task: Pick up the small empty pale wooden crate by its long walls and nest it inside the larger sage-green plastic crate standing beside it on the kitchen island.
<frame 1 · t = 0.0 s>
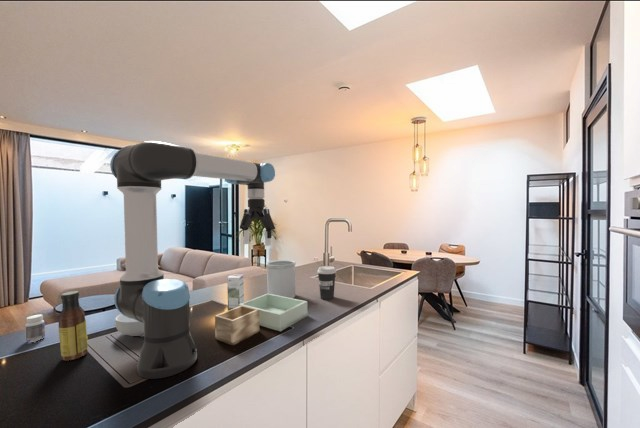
hand: (257, 244, 129), 28 cm above the counter, tool pointing down, fingers open, 13 cm apart
syrup box: (236, 307, 127), on the counter
coffee cup: (327, 298, 138), on the counter
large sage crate: (273, 317, 114), on the counter
pill bottle: (35, 340, 97), on the counter
cereal bowl: (144, 332, 102), on the counter
sauce bottle: (74, 357, 85), on the counter
small wooden crate: (238, 335, 99), on the counter
utensil holder: (281, 297, 141), on the counter
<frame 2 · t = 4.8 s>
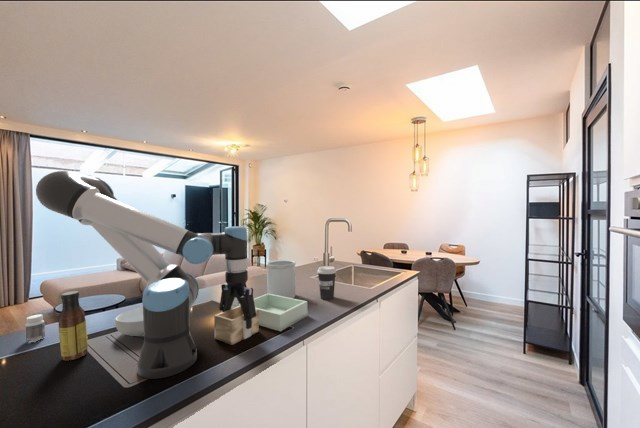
hand: (237, 333, 98), 0 cm above the counter, tool pointing down, fingers closed on small wooden crate, 9 cm apart
small wooden crate: (237, 334, 98), on the counter, touching gripper
everything else where it was.
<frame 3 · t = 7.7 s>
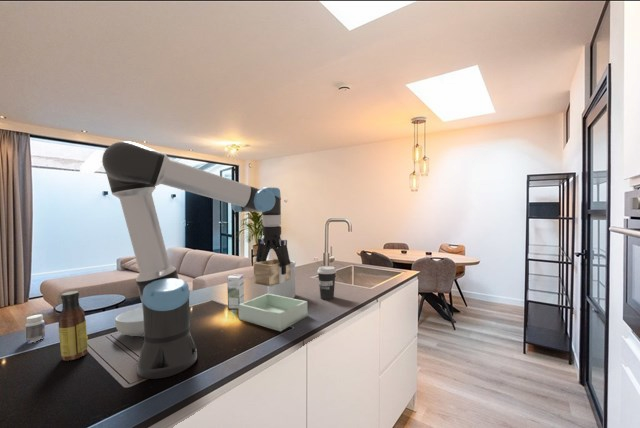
hand: (272, 280, 114), 15 cm above the counter, tool pointing down, fingers closed on small wooden crate, 9 cm apart
small wooden crate: (272, 281, 114), point 15 cm above the counter, touching gripper
everything else where it was.
when the fingers open (3 cm above the counter, at t = 10.7 s): small wooden crate drops 2 cm, resting on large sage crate.
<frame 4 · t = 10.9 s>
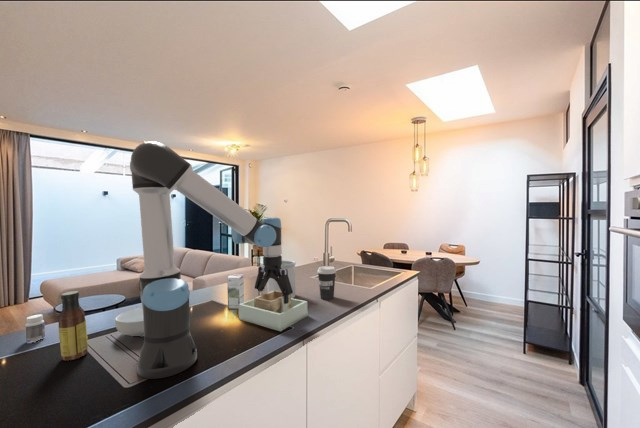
hand: (273, 308, 114), 4 cm above the counter, tool pointing down, fingers open, 11 cm apart
small wooden crate: (273, 315, 114), point 1 cm above the counter, touching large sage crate
everything else where it was.
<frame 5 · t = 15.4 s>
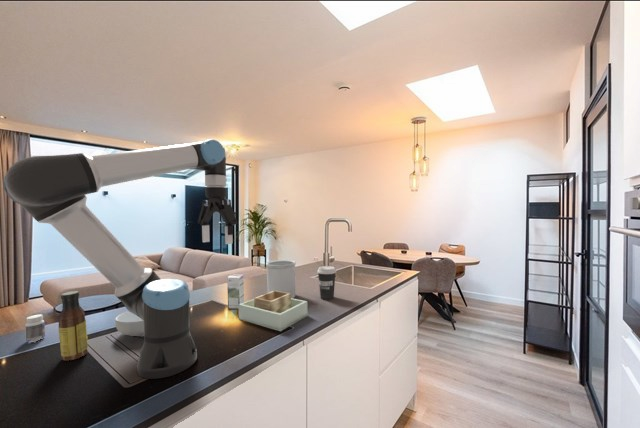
hand: (217, 242, 107), 32 cm above the counter, tool pointing down, fingers open, 13 cm apart
nothing on the counter moved.
at the end: small wooden crate inside the target area on the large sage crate (0.1 cm from its centre), point 1.0 cm above the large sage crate's base; small wooden crate tilted 0°; the gripper is holding nothing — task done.
